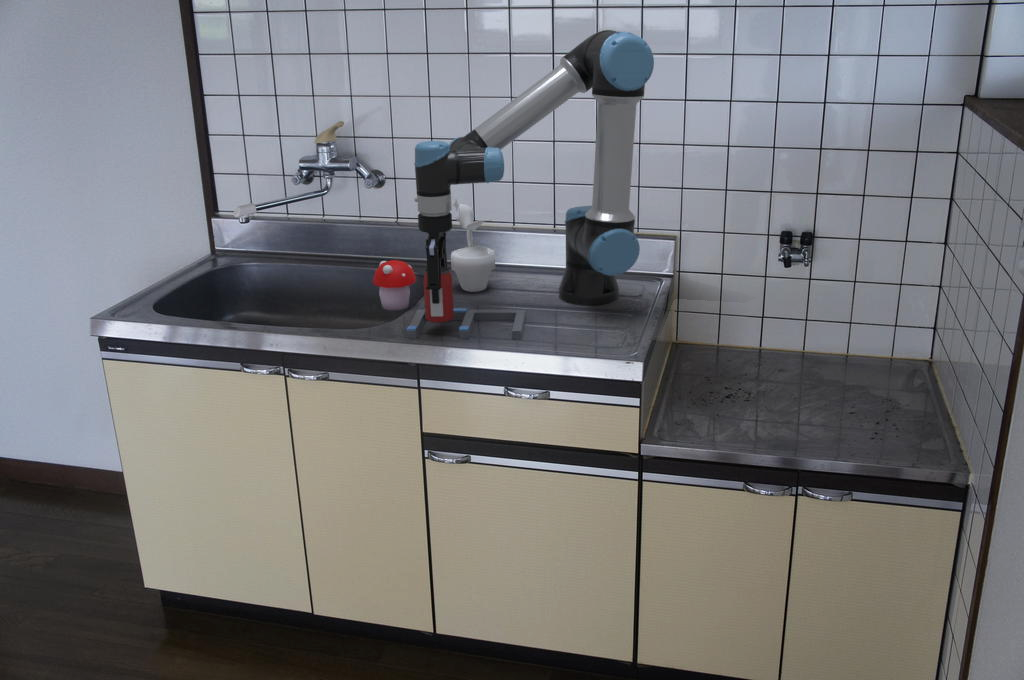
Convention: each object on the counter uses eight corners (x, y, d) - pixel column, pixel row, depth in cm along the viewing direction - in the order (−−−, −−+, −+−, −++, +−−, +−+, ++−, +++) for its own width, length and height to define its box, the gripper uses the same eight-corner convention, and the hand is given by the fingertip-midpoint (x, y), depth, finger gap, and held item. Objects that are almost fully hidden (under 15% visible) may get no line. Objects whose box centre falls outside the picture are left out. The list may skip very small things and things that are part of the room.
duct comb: (525, 317, 232) (525, 308, 232) (521, 339, 219) (520, 329, 218) (418, 317, 235) (417, 308, 234) (407, 338, 221) (406, 328, 220)
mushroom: (392, 296, 250) (389, 251, 246) (426, 303, 245) (424, 257, 240) (366, 309, 242) (362, 262, 237) (401, 315, 236) (398, 268, 232)
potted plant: (443, 289, 255) (438, 195, 246) (476, 279, 262) (473, 187, 253) (474, 299, 246) (469, 202, 237) (508, 289, 253) (505, 194, 245)
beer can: (456, 314, 227) (453, 265, 223) (451, 324, 221) (449, 273, 216) (428, 314, 228) (425, 265, 223) (423, 324, 221) (420, 273, 217)
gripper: (425, 202, 225) (430, 297, 233) (410, 223, 206) (416, 324, 215) (457, 202, 224) (461, 297, 232) (444, 223, 206) (449, 325, 214)
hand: (439, 310), depth 223 cm, fingers closed on beer can, 7 cm apart
